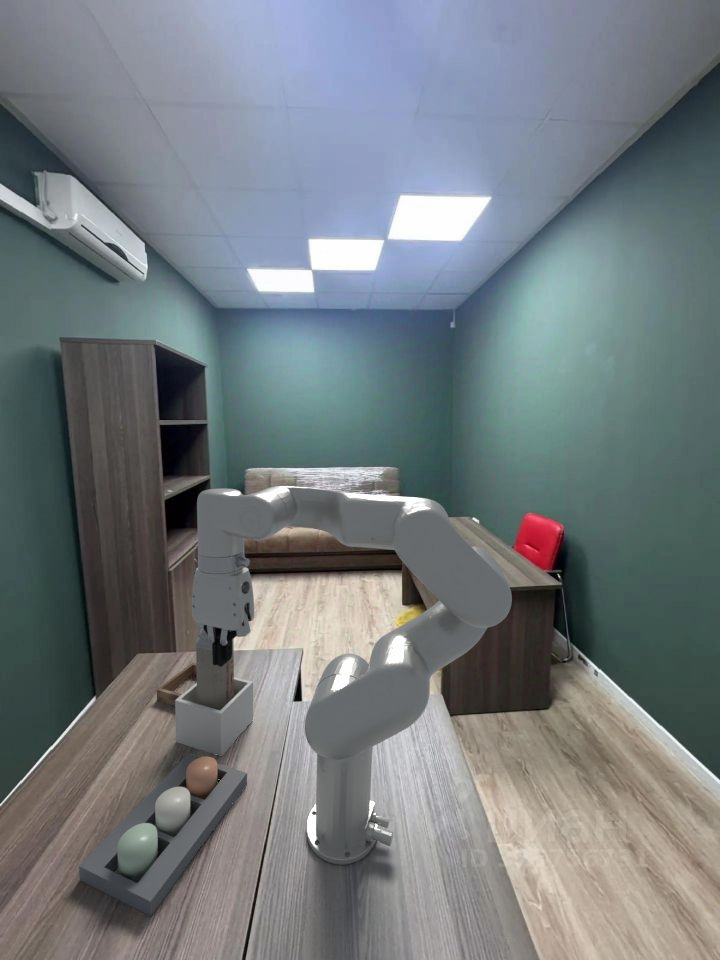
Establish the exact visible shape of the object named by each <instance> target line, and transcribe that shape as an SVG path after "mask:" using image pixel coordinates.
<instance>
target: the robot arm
mask: <svg viewBox="0 0 720 960" xmlns="http://www.w3.org/2000/svg"><path fill="white" fill-rule="evenodd" d="M196 511H197V513H196V514H197V515H196V516H197V517H196V518H197V520H196V521H197V524H196V525H197V567H196V568H195V573H194V577H193V581H192V592H191V615H192V616H191V617H192V619H193V621H194V625H195V626H196V627H198V628H200V629H204V630H205V632H206V633H207V635H208V638H209V641H210V642H211V643H212V656H213V665H218V666H220V667H222V666H223V665H224V664H225V663H227V662H228V661H229V660H230V659H231V657H232V640H233V639H235V638H236V637H237V638H241V637H242V638H243V637H244V638H245V637H247V636H249V634H250V633H251V627H250V622H252V621H254V618H255V601H254V590H253V583H252V576H251V573H250V570H249V568H248V567H250V563H251V560H250V558H247V557H246V555H245V554H246V553H245V540H249V541H265V540H267V539H269V538H271V537H273V536H274V535H275V534H278V532H280V531H281V530H283V529H284V528H286V527H287V528H289V527H291V528H305V529H313V530H319V531H323V532H325V533H328V534H330V535H331V536H332V537H334V539H336V540H337V541H338V542H339V543H340V544H342V545H344V546H346V547H352V548H353V547H354V548H367V549H378V550H379V549H380V550H390V551H391V550H392V551H394V552H395V553H396V555H397V556H398V558H399V559H400V560H401V562H403V564H404V565H405V567H407V569H408V570H409V571H410V572H411V573H412V574H413V575H414V576H415V577H416V578H417V579H418V580H419V581H420V583H421V584H422V585H424V587H425V588H427V590H428V591H429V592H431V594H432V595H433V596H434V597H435V598H436V599H438V601H436V603H435V604H433V605H432V606H430V607H429V608H427V610H425V611H424V612H422V613H421V614H418V615H417V616H416V617H414V618H412V619H411V620H409V621H406V622H405V623H403V624H401V625H400V626H398V627H397V628H394V629H393V630H391V631H389V632H388V633H386V634H384V635H383V636H381V637H380V638H379V639H378V640H377V641H376V642H375V644H374V647H373V649H372V650H371V653H370V654H371V655H370V657H369V661H367V660H366V659H364V658H363V657H361V656H359V655H357V654H355V653H344V654H340V655H338V656H336V657H334V658H333V659H332V660H331V661H330V662H329V663H328V664H327V666H326V667H325V668H324V670H323V672H322V674H321V676H320V678H319V680H318V683H317V685H316V688H315V691H314V693H313V697H312V699H311V701H310V704H309V707H308V709H307V712H306V715H305V720H304V733H305V737H306V742H307V743H308V745H309V747H310V748H311V749H312V750H313V752H314V753H316V779H315V780H316V785H315V787H316V790H315V792H316V793H315V804H314V806H313V807H312V809H311V810H310V812H309V814H308V817H307V820H306V821H307V822H306V838H307V842H308V844H309V846H310V848H311V850H312V851H313V852H314V854H315V855H316V856H317V857H319V858H321V860H323V861H325V862H328V863H329V864H330V863H331V864H333V865H341V866H342V865H349V864H353V863H355V862H359V861H360V860H362V859H364V858H365V857H366V856H367V855H368V854H369V853H370V852H371V850H372V849H373V848H374V846H375V844H376V842H379V843H380V844H382V845H385V846H388V847H392V842H393V837H394V832H393V831H391V830H387V829H389V826H390V818H389V817H384V816H380V815H378V812H375V806H376V805H375V804H376V803H375V802H374V801H372V800H371V789H372V788H371V787H372V785H371V784H372V769H373V768H372V767H373V766H372V765H373V764H372V763H373V747H374V746H377V745H378V744H381V743H382V742H384V741H386V740H388V739H390V738H392V737H393V736H396V735H397V734H399V733H401V732H403V731H405V730H406V729H408V728H410V727H411V726H412V725H413V724H415V723H416V722H417V720H419V719H420V718H421V716H422V715H423V713H424V712H425V710H426V708H427V706H428V703H429V700H430V691H431V684H430V682H431V681H430V680H431V677H432V676H434V674H435V673H437V672H438V671H439V670H441V669H443V668H445V667H446V666H448V665H449V664H451V663H452V662H454V661H456V660H457V659H458V658H460V657H462V656H463V655H465V654H466V653H467V652H469V651H470V650H471V649H472V648H473V647H474V646H476V644H477V643H479V641H480V640H481V639H482V638H483V636H484V635H485V632H486V631H487V629H488V628H491V627H494V626H497V625H499V624H500V623H501V622H503V621H504V620H505V619H506V618H507V616H508V614H509V613H510V610H511V607H512V602H513V598H512V597H513V596H512V595H513V594H512V590H511V587H510V585H509V582H508V581H507V579H506V577H505V575H504V572H503V571H502V569H501V566H500V564H499V562H497V560H496V558H495V557H494V556H493V555H492V554H491V553H490V552H488V551H487V550H485V549H484V548H482V547H480V546H471V544H469V543H468V541H467V540H466V539H465V538H464V537H463V536H462V535H461V534H460V533H459V532H458V531H457V529H455V527H454V526H453V524H452V523H451V520H450V518H449V515H448V513H447V511H446V510H445V508H444V507H443V505H441V503H439V502H437V501H436V500H433V499H429V498H424V497H415V496H401V495H400V496H399V495H384V494H383V495H381V494H368V493H353V492H346V491H340V490H339V491H338V490H330V489H325V488H318V487H305V486H304V487H303V486H302V487H301V486H288V485H286V486H285V485H279V486H278V485H276V486H270V487H267V488H264V489H262V490H259V491H257V492H253V493H249V494H243V492H241V491H240V490H238V489H236V488H235V489H234V488H225V487H224V488H220V487H219V488H210V489H206V490H202V491H201V492H200V493H199V494H198V496H197V501H196ZM378 826H380V827H382V828H380V827H378Z"/></svg>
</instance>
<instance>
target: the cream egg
mask: <svg viewBox="0 0 720 960" xmlns="http://www.w3.org/2000/svg"><path fill="white" fill-rule="evenodd" d="M191 814H192V812H190V792H189V790H188V789H186V788H184V787H173V788H170V789H168V790H166V791H165V792H163V793H162V794H161V795H160V796H159V797H158V799H157V801H156V803H155V819H156V824H155V827H156V829H157V830H158V831H161V832H163V833H165V834H168V835H170V836H172V837H175V836H176V835H177V834H178V833H179V831H180V830H181V829H182V828H183V826H184V825H185V824H186V823H187V821H188V820H189V819H190V818H191V816H192V815H191Z"/></svg>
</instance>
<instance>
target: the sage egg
mask: <svg viewBox="0 0 720 960" xmlns="http://www.w3.org/2000/svg"><path fill="white" fill-rule="evenodd" d="M117 854H118V867H117V872H118V873H117V874H119V875H121V876H123V877H125V878H127V879H129V880H131V881H134V882H136V883H138V882H139V881H140V879H141V878H142V877H143V876H144V875H145V873H146V872H147V871H148V870H149V868H150V867H151V866H152V865H153V863H154V862H155V861H156V860H157V858H158V857H159V850H158V837H157V829H156V825H153V824H150V823H142V824H138V825H135V826H133V827H132V828H130V829H129V830H127V831H126V832H125V833H124V834H123V835H122V837H121V838H120V840H119V842H118V845H117Z"/></svg>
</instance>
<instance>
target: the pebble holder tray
mask: <svg viewBox="0 0 720 960" xmlns="http://www.w3.org/2000/svg"><path fill="white" fill-rule="evenodd" d="M198 758H200V756H198V755H196V754H195V755H194V754H193V753H188V754H187V755H186V756H185V757H183V759H182V760H180V762H179V763H177V765H176V766H175V767H174V768H173V769H172V770H171V771H170V772H169V773H168V774H167V775H166V776H165V777H164V778H163V779H162V780H161V781H160V782H159V783H158V784H157V785H156V786H155V788H153V790H152V791H151V792H149V794H148V795H146V797H145V798H144V799H143V800H142V801H141V802H140V803H139V804H138V805H137V806H136V807H135V808H134V809H132V811H131V812H130V813H129V814H127V816H126V817H125V818H124V819H123V820H122V821H121V822H120V823H119V824H118V825H117V826H116V827H115V828H114V829H113V831H111V832H110V834H108V836H106V838H104V840H103V841H102V842H101V843H99V845H97V847H96V848H95V849H94V850H93V851H92V852H91V853H90V854H89V855H88V856H87V857H86V858H85V859H84V860H83V861H82V862H81V863H80V864H79V865H78V873H79V881H80V882H83V883H84V884H87V885H89V886H91V887H92V888H94V889H96V890H98V891H100V892H102V893H105V894H106V895H108V896H110V897H111V898H114V899H116V900H118V901H120V902H121V903H124V904H125V905H128V906H130V907H131V908H134V909H136V910H138V911H140V912H141V913H143V914H145V915H147V916H149V917H152V916H153V915H154V913H155V912H156V910H157V909H158V908H159V906H160V905H161V904H162V902H163V900H165V898H166V897H167V895H168V894H169V893H170V891H171V890H172V889H173V887H174V885H176V883H177V882H178V880H179V879H180V878H181V876H182V875H183V874H184V872H185V871H184V870H186V869H187V868H188V866H189V865H190V864H191V862H192V861H193V859H194V858H195V857H196V855H197V854H198V853H197V851H198V850H199V849H200V850H201V848H202V847H203V846H204V844H205V843H206V842H207V840H208V839H209V837H210V836H211V835H212V833H213V832H214V831H213V829H214V828H215V827H216V828H217V826H218V825H219V824H220V822H221V821H222V820H221V818H222V817H223V816H224V817H225V815H226V814H227V813H226V812H228V811H229V810H230V809H229V808H231V807H232V806H233V804H234V803H235V802H234V801H236V800H237V799H238V798H239V796H240V795H239V794H241V793H242V792H243V791H242V790H244V789H245V788H246V786H247V785H248V773H247V772H245V771H242V770H239V769H237V768H234V767H229V766H227V765H224V764H221V763H218V762H217V777H218V779H220V780H221V781H219V782H218V784H217V786H216V787H215V788H214V789H213V791H212V792H211V793H210V794H209V795H208V797H207V798H206V799H205V800H204V799H201V798H198V797H196V796H193V795H190V813H191V814H192V815H191V818H190V819H189V820H188V821H187V823H186V824H185V825H184V826H183V828H182V829H181V830H180V831H179V833H178V834H177V835H176V836H175V837H172V836H170V835H168V834H165V833H163V832H161V831H158V830H157V837H158V852H160V855H158V858H157V860H156V861H155V862H154V863H153V865H152V866H151V867H150V868H149V870H148V871H147V872H146V873H145V875H144V876H143V877H142V878H141V879H140V881H137V882H134V881H131V880H129V879H127V878H125V877H123V876H121V875H119V874H118V873H117V872H115V870H117V869H118V854H117V845H118V842H119V840H120V838H121V837H122V835H123V834H124V833H125V832H126V831H127V830H129V829H130V828H132V827H133V826H135V825H138V824H142V823H150V824H153V825H154V826H156V819H155V803H156V801H157V799H158V797H159V796H160V795H161V794H162V793H163V792H165V791H166V790H168V789H170V788H173V787H184V788H186V770H187V767H188V766H189V764H190V763H191V762H192V761H194V760H196V759H198ZM238 795H239V796H238ZM237 797H238V798H237ZM236 798H237V799H236ZM233 802H234V803H233ZM232 803H233V804H232ZM231 805H232V806H231ZM230 806H231V807H230ZM228 809H229V810H228ZM227 810H228V811H227ZM225 813H226V814H225ZM224 814H225V815H224ZM224 817H223V818H224ZM223 818H222V819H223ZM220 820H221V821H220ZM219 821H220V822H219ZM218 823H219V824H218ZM217 824H218V825H217ZM216 828H215V829H216ZM215 829H214V830H215ZM212 831H213V832H212ZM211 832H212V833H211ZM210 834H211V835H210ZM209 835H210V836H209ZM208 836H209V837H208ZM207 838H208V839H207ZM206 839H207V840H206ZM205 841H206V842H205ZM204 842H205V843H204ZM203 843H204V844H203ZM202 845H203V846H202ZM201 846H202V847H201ZM200 847H201V848H200ZM200 850H199V851H200ZM199 851H198V852H199ZM196 853H197V854H196ZM195 854H196V855H195ZM194 856H195V857H194ZM193 857H194V858H193ZM191 860H192V861H191ZM190 861H191V862H190ZM189 863H190V864H189ZM188 864H189V865H188ZM186 867H187V868H186ZM183 871H184V872H183Z"/></svg>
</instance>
